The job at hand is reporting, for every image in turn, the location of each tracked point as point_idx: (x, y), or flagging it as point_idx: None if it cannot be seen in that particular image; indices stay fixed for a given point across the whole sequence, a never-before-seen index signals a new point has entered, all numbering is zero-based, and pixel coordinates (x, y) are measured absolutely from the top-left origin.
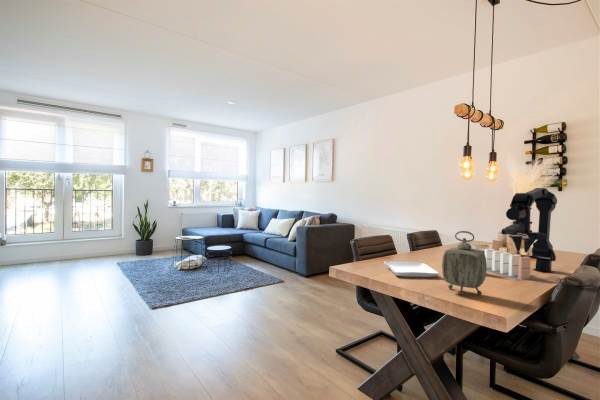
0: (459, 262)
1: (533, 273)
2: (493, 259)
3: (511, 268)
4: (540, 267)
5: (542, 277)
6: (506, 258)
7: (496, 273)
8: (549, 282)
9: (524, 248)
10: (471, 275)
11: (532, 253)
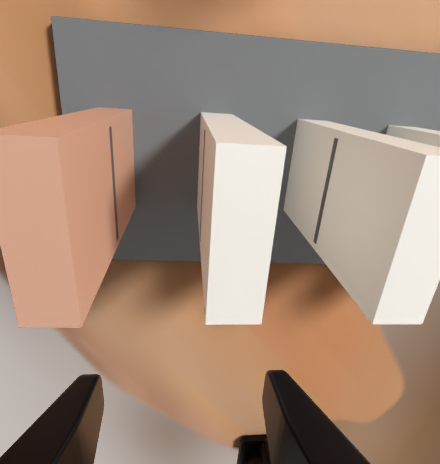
0: None
1: (250, 373)
2: None
3: (207, 119)
4: (269, 459)
5: (156, 345)
6: (356, 202)
7: (317, 49)
8: None
9: (56, 442)
10: None
11: None
